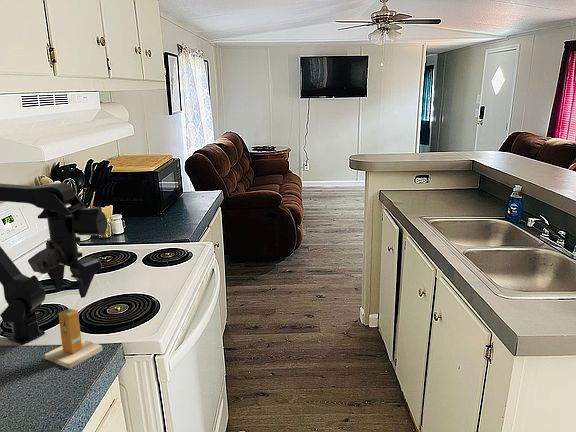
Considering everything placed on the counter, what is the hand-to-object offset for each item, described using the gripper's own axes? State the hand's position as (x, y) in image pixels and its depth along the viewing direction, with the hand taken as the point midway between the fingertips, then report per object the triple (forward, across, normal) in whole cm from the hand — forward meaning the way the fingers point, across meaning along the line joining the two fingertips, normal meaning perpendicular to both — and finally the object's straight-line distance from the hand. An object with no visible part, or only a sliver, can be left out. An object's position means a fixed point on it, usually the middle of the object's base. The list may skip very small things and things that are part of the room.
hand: (71, 293), depth 113 cm
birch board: (+12, +7, -6) cm, 15 cm away
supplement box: (+11, +7, -6) cm, 14 cm away
